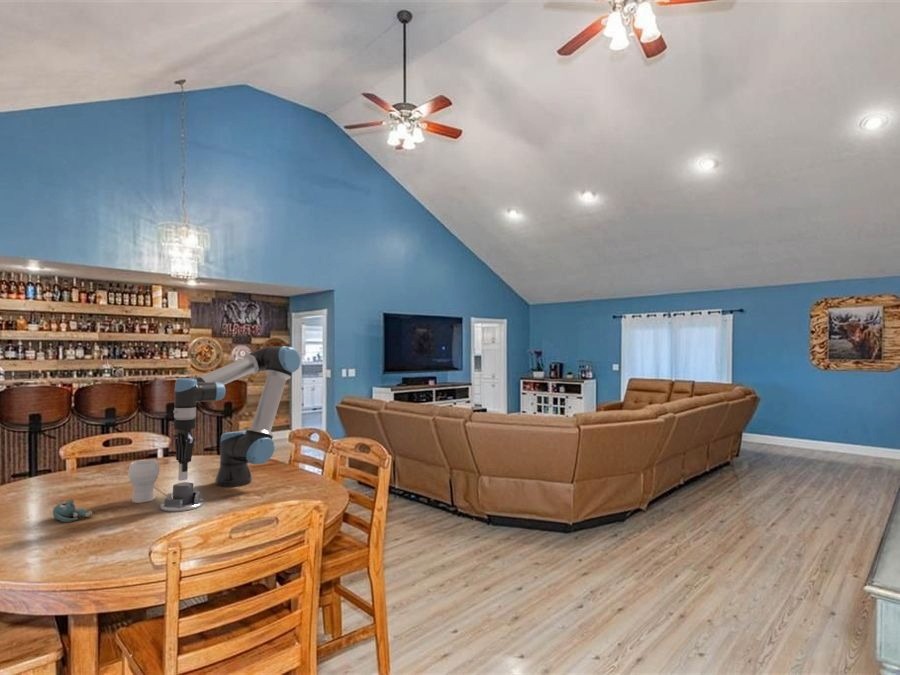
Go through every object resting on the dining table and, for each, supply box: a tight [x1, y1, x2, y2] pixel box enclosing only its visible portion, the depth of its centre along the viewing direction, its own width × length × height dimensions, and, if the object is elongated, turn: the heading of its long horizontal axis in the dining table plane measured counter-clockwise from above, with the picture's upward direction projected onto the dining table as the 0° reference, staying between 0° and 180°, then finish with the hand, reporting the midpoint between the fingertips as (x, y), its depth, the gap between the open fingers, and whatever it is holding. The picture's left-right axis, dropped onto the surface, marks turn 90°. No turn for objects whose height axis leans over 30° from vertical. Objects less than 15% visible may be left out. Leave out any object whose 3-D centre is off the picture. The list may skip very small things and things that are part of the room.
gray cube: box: [172, 481, 194, 506], centre depth 197 cm, size 7×7×7 cm
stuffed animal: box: [52, 499, 93, 523], centre depth 181 cm, size 11×7×12 cm
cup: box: [127, 459, 160, 504], centre depth 203 cm, size 11×11×15 cm
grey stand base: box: [159, 490, 205, 513], centre depth 197 cm, size 15×15×4 cm
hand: (182, 479), depth 197 cm, fingers closed
